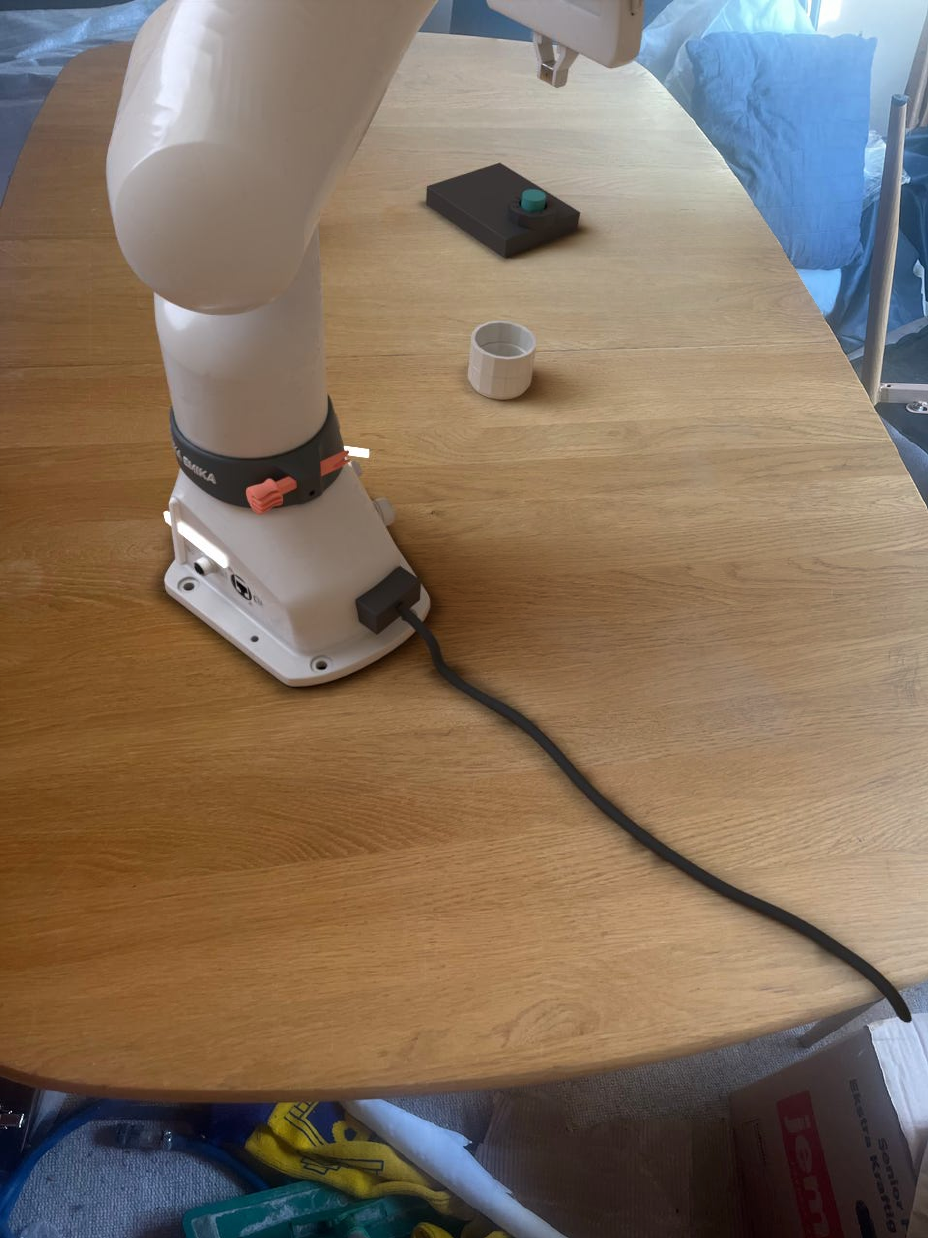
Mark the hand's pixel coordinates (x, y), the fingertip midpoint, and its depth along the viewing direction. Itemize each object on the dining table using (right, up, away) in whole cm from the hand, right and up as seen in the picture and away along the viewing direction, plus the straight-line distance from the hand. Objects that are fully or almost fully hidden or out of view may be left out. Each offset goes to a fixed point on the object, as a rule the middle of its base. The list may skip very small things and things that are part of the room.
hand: (551, 82), depth 103 cm
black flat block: (-5, -8, +16) cm, 18 cm away
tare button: (-1, -9, +11) cm, 14 cm away
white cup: (-6, -33, -5) cm, 34 cm away
